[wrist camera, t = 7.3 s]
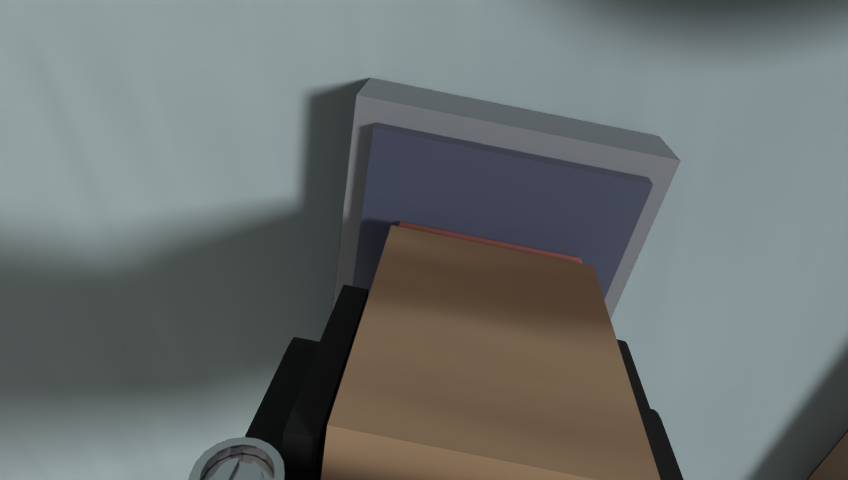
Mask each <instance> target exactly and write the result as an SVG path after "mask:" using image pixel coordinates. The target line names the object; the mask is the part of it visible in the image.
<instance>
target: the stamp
mask: <svg viewBox="0 0 848 480" xmlns="http://www.w3.org/2000/svg"><path fill="white" fill-rule="evenodd" d="M321 480H661V479H660V476H659V473H658V470H657V467H656V464H655V460H654V457H653V454H652V451H651V448H650V444H649V441H648V438H647V435H646V432H645V429H644V425H643V422H642V419H641V416H640V413H639V409H638V406H637V403H636V400H635V397H634V393H633V390H632V387H631V384H630V381H629V378H628V374H627V371H626V368H625V365H624V362H623V358H622V355H621V352H620V349H619V346H618V343H617V339H616V336H615V333H614V330H613V327H612V323H611V320H610V317H609V314H608V311H607V308H606V304H605V301H604V298H603V295H602V292H601V288H600V285H599V282H598V279H597V276H596V273H595V269H594V266H591V265H586V264H583V263H582V260H581V258H578V257H573V256H568V255H563V254H558V253H553V252H548V251H543V250H538V249H533V248H528V247H523V246H518V245H514V244H509V243H504V242H499V241H494V240H489V239H484V238H479V237H474V236H469V235H464V234H459V233H454V232H450V231H445V230H440V229H435V228H430V227H425V226H420V225H415V224H410V223H405V222H400V224H399V226H394V225H391V227H390V231H389V234H388V237H387V240H386V243H385V246H384V249H383V252H382V256H381V259H380V262H379V265H378V268H377V271H376V274H375V277H374V281H373V284H372V287H371V290H370V293H369V296H368V299H367V302H366V306H365V309H364V312H363V315H362V318H361V321H360V324H359V328H358V331H357V334H356V337H355V340H354V343H353V346H352V349H351V353H350V356H349V359H348V362H347V365H346V368H345V371H344V374H343V378H342V381H341V384H340V387H339V390H338V393H337V396H336V399H335V403H334V406H333V409H332V412H331V415H330V418H329V421H328V424H327V432H326V440H325V448H324V456H323V465H322V473H321Z"/></svg>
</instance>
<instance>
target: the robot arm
mask: <svg viewBox="0 0 848 480" xmlns="http://www.w3.org/2000/svg"><path fill="white" fill-rule="evenodd" d="M368 294H369V289H365V288H360V287H355V286H350V285H345V284H344V285H343V287H342V289H341V291H340V294H339V296H338V299H337V301H336V304H335V306H334V309H333V311H332V313H331V316H330V318H329V321H328V323H327V326H326V328H325V331H324V333H323V335H322V338H321V340H320V342H317V341H312V340H307V339H302V338H297V337H294V338H293V339H292V341H291V342H290V344H289V346H288V348H287V350H286V352H285V354H284V356H283V359H282V361H281V363H280V365H279V367H278V369H277V371H276V373H275V375H274V377H273V379H272V381H271V383H270V386H269V388H268V390H267V392H266V394H265V396H264V398H263V400H262V402H261V404H260V406H259V408H258V410H257V413H256V415H255V417H254V419H253V421H252V423H251V425H250V427H249V429H248V431H247V433H246V435H245V437H241V438H232V439H228V440H226V441H223V442H220V443H217V444H216V445H214V446H213V447H211V448H210V449H208V450H207V451H205V452H204V453H203V454H202V456H201V457H200V458H199V459H198V460H197V461H196V462H195V464H194V467H193V469H192V471H191V473H190V476H189V480H321V473H322V465H323V456H324V448H325V440H326V432H327V424H328V421H329V418H330V415H331V412H332V409H333V406H334V403H335V399H336V396H337V393H338V390H339V387H340V384H341V381H342V378H343V374H344V371H345V368H346V365H347V362H348V359H349V356H350V353H351V349H352V346H353V343H354V340H355V337H356V334H357V331H358V328H359V324H360V321H361V318H362V315H363V312H364V309H365V306H366V302H367V299H368ZM617 343H618V346H619V349H620V352H621V355H622V358H623V362H624V365H625V368H626V371H627V374H628V378H629V381H630V384H631V387H632V390H633V393H634V397H635V400H636V403H637V406H638V409H639V413H640V416H641V419H642V422H643V425H644V429H645V432H646V435H647V438H648V441H649V444H650V448H651V451H652V454H653V457H654V460H655V464H656V467H657V470H658V473H659V476H660V479H661V480H683V477H682V474H681V472H680V469H679V466H678V464H677V461H676V458H675V456H674V453H673V450H672V448H671V445H670V442H669V439H668V437H667V434H666V431H665V429H664V426H663V423H662V421H661V418H660V416H659V414H658V413H657V412H656V411H655V410H653V409H650V407H649V404H648V401H647V398H646V395H645V393H644V390H643V387H642V384H641V381H640V379H639V376H638V373H637V370H636V367H635V365H634V362H633V359H632V356H631V353H630V350H629V348H628V345H627V343H626V342H625V341H622V340H617Z"/></svg>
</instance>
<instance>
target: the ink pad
mask: <svg viewBox="0 0 848 480" xmlns="http://www.w3.org/2000/svg"><path fill="white" fill-rule="evenodd" d="M679 163H680V159H679V158H678V157H677V156H676V155H675V154H674V153H673V152H672V150H671V149H670V148H669V147H668V146H667V145H666V144H665V142H664V141H663V140H662V139H661V138H660V137H659V136H655V135H650V134H645V133H640V132H635V131H630V130H625V129H620V128H615V127H610V126H605V125H601V124H596V123H591V122H586V121H581V120H576V119H571V118H566V117H561V116H556V115H551V114H546V113H541V112H536V111H531V110H526V109H522V108H517V107H512V106H507V105H502V104H497V103H492V102H487V101H482V100H477V99H472V98H467V97H462V96H457V95H452V94H448V93H443V92H438V91H433V90H428V89H423V88H418V87H413V86H408V85H403V84H398V83H393V82H388V81H383V80H378V79H374V78H370V79H369V80H368V81H367V82H366V84H365V85H364V86H363V87H362V89H361V90H360V91H359V92H358V93H357V95H356V102H355V111H354V120H353V129H352V138H351V147H350V156H349V165H348V173H347V182H346V191H345V200H344V209H343V218H342V227H341V236H340V245H339V253H338V262H337V271H336V280H335V289H334V298H333V307H332V311H333V309H334V306H335V304H336V301H337V299H338V296H339V294H340V291H341V289H342V287H343V285H344V284H345V285H350V286H355V287H360V288H365V289H369V293H370V290H371V287H372V284H373V281H374V277H375V274H376V271H377V268H378V265H379V262H380V259H381V256H382V252H383V249H384V246H385V243H386V240H387V237H388V234H389V231H390V227H391V225H394V226H399V224H400V222H405V223H410V224H415V225H420V226H425V227H430V228H435V229H440V230H445V231H450V232H454V233H459V234H464V235H469V236H474V237H479V238H484V239H489V240H494V241H499V242H504V243H509V244H514V245H518V246H523V247H528V248H533V249H538V250H543V251H548V252H553V253H558V254H563V255H568V256H573V257H578V258H581V260H582V263H583V264H586V265H591V266H594V269H595V273H596V276H597V279H598V282H599V285H600V288H601V292H602V295H603V298H604V301H605V304H606V308H607V311H608V314H609V317H610V319H611V317H612V315H613V312H614V310H615V308H616V305H617V303H618V301H619V299H620V296H621V294H622V292H623V290H624V287H625V285H626V283H627V281H628V278H629V276H630V274H631V271H632V269H633V267H634V265H635V262H636V260H637V258H638V256H639V253H640V251H641V249H642V247H643V244H644V242H645V240H646V237H647V235H648V233H649V231H650V228H651V226H652V224H653V222H654V219H655V217H656V215H657V213H658V210H659V208H660V206H661V204H662V201H663V199H664V197H665V194H666V192H667V190H668V188H669V185H670V183H671V181H672V179H673V176H674V174H675V172H676V170H677V167H678V165H679ZM368 296H369V294H368Z"/></svg>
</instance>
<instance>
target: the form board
mask: <svg viewBox="0 0 848 480" xmlns="http://www.w3.org/2000/svg"><path fill="white" fill-rule="evenodd" d="M808 480H848V432H847V433H846V434H845V435H844V437H843V438H842V439H841V440H840V441H839V443H838V444H837V445H836V446H835V447H834V449H833V450H832V451H831V452H830V454H829V455H828V456H827V457H826V458H825V460H824V461H823V462H822V463H821V464H820V466H819V467H818V468H817V469H816V470H815V472H814V473H813V474H812V475H811V476H810V478H809V479H808Z"/></svg>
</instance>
